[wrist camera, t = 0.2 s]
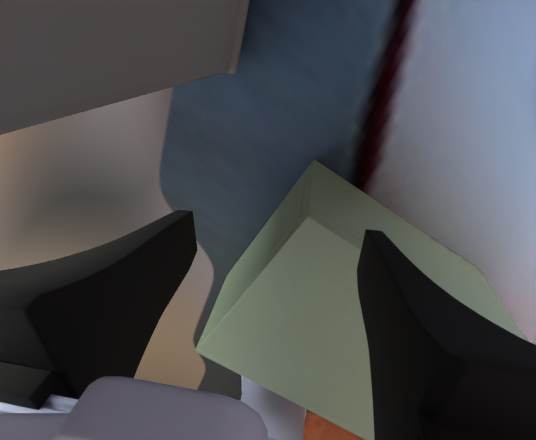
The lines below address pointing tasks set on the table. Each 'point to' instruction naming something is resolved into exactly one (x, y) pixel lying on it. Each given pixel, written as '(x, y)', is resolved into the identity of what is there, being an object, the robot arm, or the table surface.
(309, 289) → the cabinet
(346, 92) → the table surface
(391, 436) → the robot arm
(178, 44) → the laptop
